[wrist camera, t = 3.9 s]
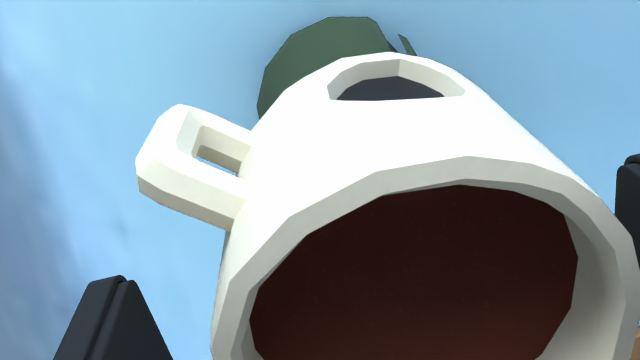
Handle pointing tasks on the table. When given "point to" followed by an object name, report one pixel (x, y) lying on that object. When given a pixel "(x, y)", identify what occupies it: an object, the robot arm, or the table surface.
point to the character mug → (392, 216)
